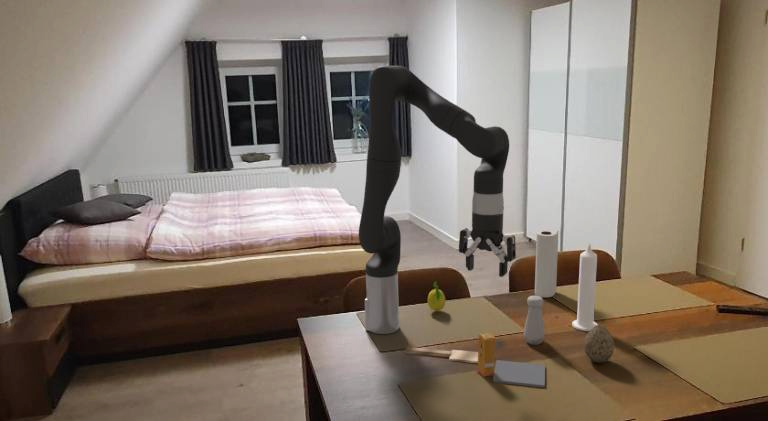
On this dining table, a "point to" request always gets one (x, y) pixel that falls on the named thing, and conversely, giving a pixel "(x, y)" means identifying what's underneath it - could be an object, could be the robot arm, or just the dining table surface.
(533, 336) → the salt shaker
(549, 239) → the paper towel roll
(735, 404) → the dining table surface
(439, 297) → the lemon
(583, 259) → the candle
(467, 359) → the turner
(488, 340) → the supplement box
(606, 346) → the decorative egg
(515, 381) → the mat
